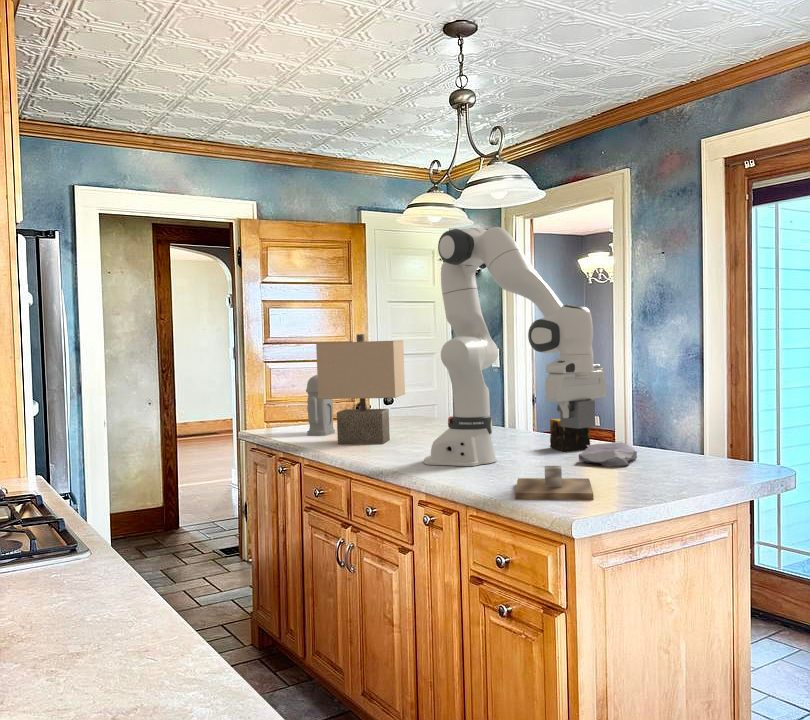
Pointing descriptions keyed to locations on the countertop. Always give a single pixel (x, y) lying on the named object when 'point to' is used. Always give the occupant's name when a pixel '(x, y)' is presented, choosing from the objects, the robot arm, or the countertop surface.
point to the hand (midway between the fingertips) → (577, 416)
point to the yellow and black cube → (568, 437)
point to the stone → (609, 454)
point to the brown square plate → (554, 486)
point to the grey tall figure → (318, 411)
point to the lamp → (361, 384)
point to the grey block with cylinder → (579, 414)
